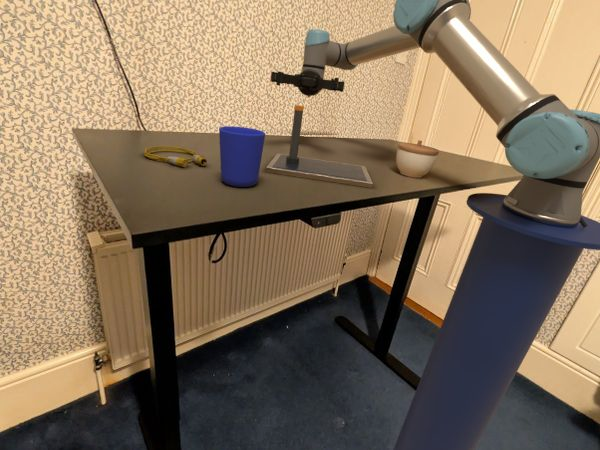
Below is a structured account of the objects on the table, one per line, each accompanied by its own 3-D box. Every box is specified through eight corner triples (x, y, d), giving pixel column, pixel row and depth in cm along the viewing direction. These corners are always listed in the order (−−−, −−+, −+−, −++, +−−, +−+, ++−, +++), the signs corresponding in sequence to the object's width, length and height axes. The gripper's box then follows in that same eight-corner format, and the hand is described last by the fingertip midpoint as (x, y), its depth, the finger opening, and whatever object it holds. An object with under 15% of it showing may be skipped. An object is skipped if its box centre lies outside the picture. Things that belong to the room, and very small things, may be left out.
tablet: (364, 170, 88) (365, 166, 87) (371, 188, 72) (373, 182, 71) (277, 157, 88) (277, 152, 88) (265, 172, 73) (266, 166, 72)
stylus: (301, 164, 79) (308, 107, 74) (289, 163, 78) (295, 105, 73) (295, 160, 82) (302, 105, 77) (284, 160, 80) (290, 104, 75)
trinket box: (438, 179, 89) (449, 145, 86) (414, 181, 83) (425, 144, 80) (407, 168, 97) (415, 137, 93) (383, 170, 91) (391, 136, 87)
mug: (243, 171, 70) (246, 124, 67) (267, 189, 61) (273, 135, 57) (206, 172, 66) (206, 121, 62) (226, 191, 57) (228, 133, 53)
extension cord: (144, 167, 64) (143, 157, 63) (144, 149, 77) (143, 141, 76) (207, 168, 69) (208, 159, 68) (197, 151, 82) (197, 143, 81)
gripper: (347, 101, 102) (351, 103, 82) (269, 90, 103) (255, 90, 83) (351, 75, 99) (357, 71, 80) (271, 64, 100) (257, 57, 80)
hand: (305, 81), depth 81 cm, fingers open, 13 cm apart
